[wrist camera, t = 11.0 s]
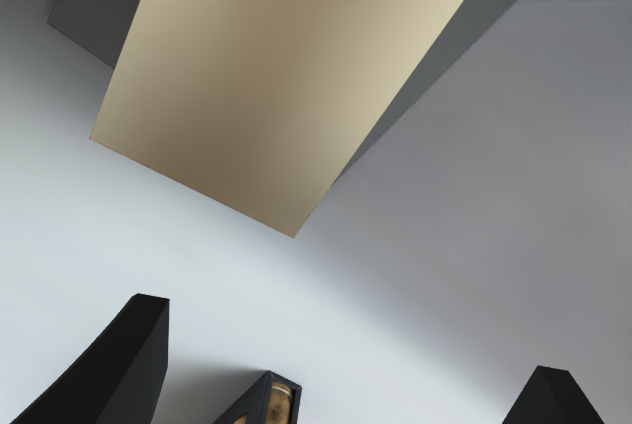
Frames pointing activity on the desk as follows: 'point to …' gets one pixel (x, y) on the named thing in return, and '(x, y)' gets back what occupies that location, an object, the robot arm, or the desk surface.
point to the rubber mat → (454, 40)
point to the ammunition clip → (265, 403)
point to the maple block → (261, 93)
